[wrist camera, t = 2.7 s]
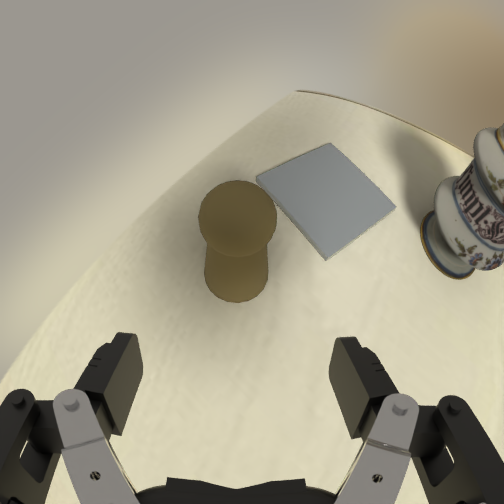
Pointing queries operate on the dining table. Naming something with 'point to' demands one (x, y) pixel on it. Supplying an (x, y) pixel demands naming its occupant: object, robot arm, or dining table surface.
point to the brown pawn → (237, 239)
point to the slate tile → (326, 198)
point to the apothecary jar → (469, 213)
